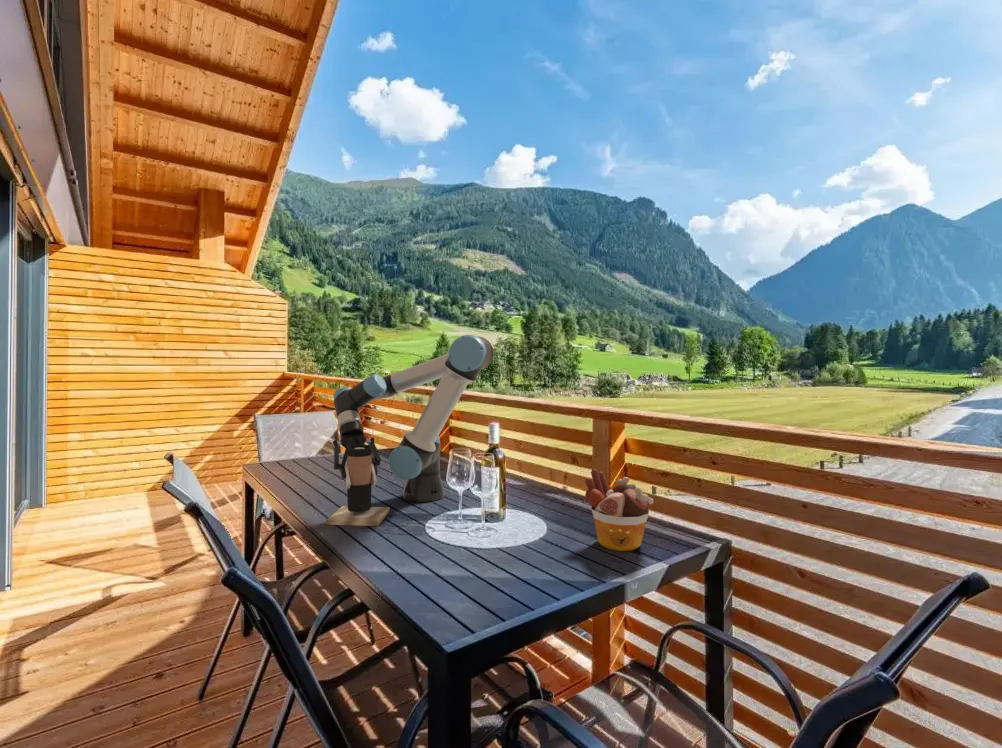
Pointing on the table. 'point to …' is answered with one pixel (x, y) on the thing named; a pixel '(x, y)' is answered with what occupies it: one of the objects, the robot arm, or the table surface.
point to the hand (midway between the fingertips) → (362, 484)
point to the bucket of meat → (617, 512)
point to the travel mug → (359, 478)
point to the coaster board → (358, 516)
